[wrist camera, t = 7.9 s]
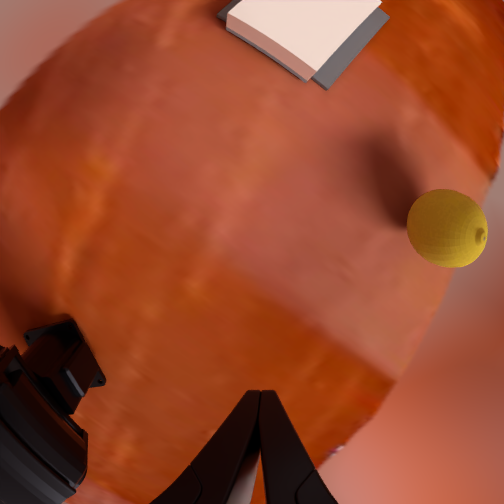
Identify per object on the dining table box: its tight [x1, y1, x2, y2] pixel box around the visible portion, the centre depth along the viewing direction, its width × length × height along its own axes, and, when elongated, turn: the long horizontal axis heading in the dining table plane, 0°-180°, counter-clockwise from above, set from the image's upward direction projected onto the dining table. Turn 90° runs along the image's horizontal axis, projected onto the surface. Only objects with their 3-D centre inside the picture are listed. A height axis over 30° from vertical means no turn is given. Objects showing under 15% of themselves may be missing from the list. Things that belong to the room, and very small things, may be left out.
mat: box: [217, 0, 390, 91], centre depth 17 cm, size 11×10×1 cm
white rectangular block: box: [226, 0, 382, 83], centre depth 15 cm, size 2×7×10 cm
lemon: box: [407, 189, 488, 267], centre depth 18 cm, size 6×6×8 cm
